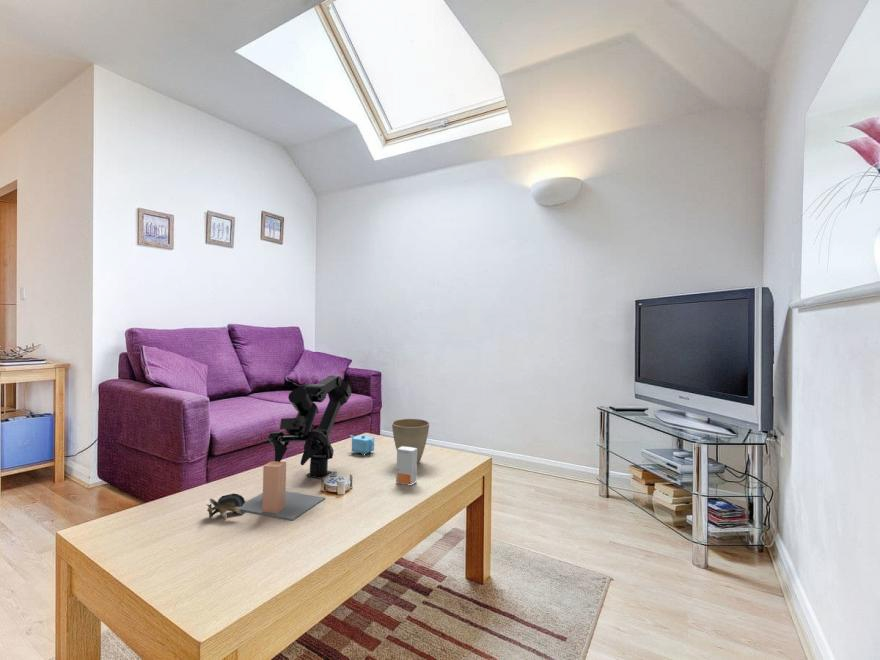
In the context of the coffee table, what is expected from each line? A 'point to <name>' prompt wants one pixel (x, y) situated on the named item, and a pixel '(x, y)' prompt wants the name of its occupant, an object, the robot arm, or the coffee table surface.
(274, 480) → the block
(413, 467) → the skincare box
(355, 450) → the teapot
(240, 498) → the grey brown animal figure
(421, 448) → the plant pot
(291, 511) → the mat
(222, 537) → the coffee table surface
